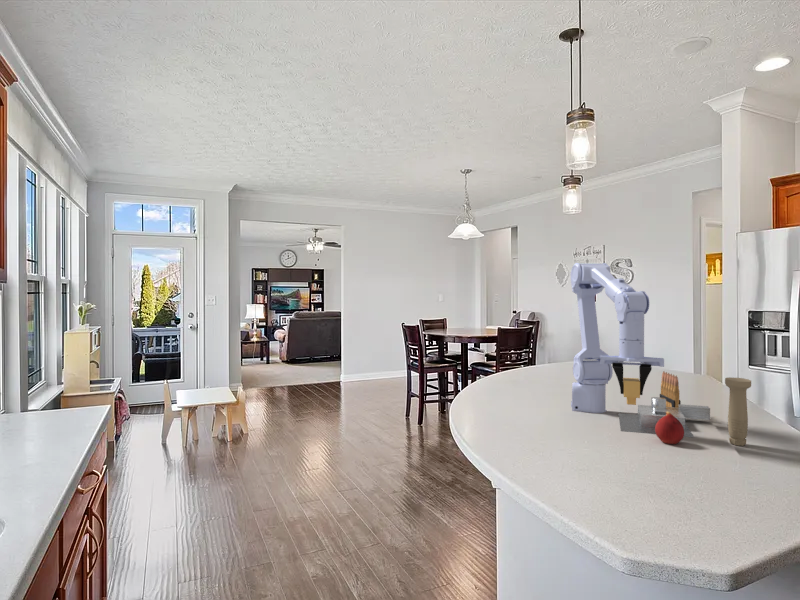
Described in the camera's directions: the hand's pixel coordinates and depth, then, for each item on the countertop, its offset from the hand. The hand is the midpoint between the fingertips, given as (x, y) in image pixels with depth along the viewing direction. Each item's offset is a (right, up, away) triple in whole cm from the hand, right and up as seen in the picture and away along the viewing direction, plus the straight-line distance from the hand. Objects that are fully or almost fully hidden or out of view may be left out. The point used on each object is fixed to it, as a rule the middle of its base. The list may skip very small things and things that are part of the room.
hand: (631, 393), depth 131 cm
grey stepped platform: (+10, -10, +4) cm, 14 cm away
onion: (+3, -10, -12) cm, 16 cm away
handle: (+20, -10, -10) cm, 25 cm away
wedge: (0, -2, 0) cm, 2 cm away
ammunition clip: (+20, -10, +21) cm, 31 cm away
